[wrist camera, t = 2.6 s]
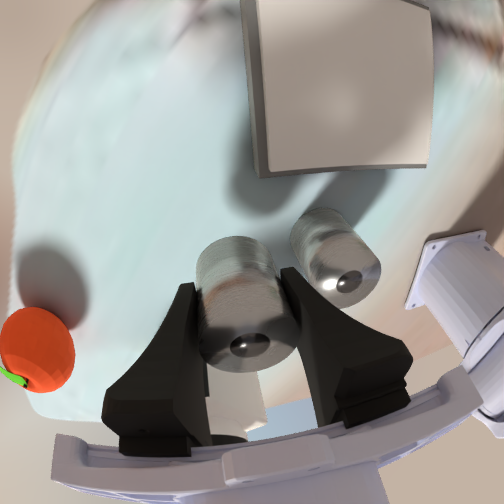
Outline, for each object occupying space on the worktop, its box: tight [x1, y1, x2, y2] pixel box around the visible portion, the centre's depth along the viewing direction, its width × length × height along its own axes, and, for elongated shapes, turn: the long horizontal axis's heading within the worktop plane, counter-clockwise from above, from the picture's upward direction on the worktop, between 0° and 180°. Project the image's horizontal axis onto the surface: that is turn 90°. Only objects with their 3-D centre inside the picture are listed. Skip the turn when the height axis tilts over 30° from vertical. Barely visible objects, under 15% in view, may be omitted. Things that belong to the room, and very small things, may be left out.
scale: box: [240, 0, 434, 179], centre depth 11 cm, size 11×13×3 cm
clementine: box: [0, 307, 75, 393], centre depth 16 cm, size 8×7×7 cm
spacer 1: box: [196, 236, 300, 373], centre depth 13 cm, size 4×4×5 cm
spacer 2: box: [290, 208, 381, 309], centre depth 17 cm, size 4×4×5 cm
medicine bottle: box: [203, 360, 267, 446], centre depth 19 cm, size 7×7×12 cm
